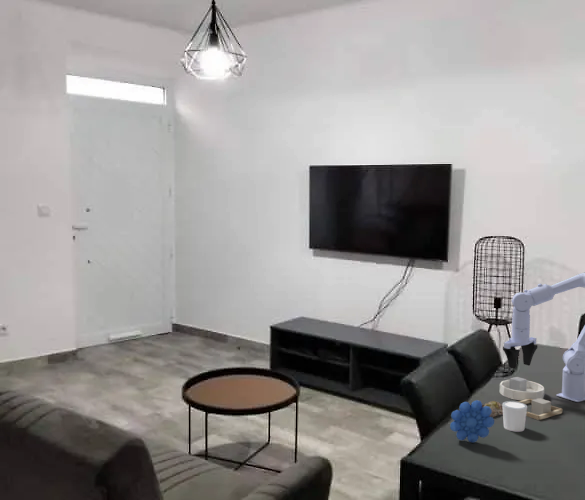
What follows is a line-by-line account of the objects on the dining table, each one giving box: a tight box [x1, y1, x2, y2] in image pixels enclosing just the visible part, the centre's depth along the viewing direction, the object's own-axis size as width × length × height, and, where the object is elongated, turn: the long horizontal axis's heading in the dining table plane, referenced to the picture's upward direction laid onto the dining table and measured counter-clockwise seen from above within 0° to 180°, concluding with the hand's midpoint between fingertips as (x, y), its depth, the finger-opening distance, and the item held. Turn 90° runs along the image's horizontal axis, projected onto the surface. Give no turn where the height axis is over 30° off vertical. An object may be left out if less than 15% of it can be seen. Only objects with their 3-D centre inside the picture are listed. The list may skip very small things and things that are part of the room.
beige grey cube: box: [530, 398, 552, 415], centre depth 185 cm, size 4×4×4 cm
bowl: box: [499, 379, 545, 401], centre depth 203 cm, size 14×14×3 cm
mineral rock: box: [482, 400, 503, 418], centre depth 186 cm, size 11×4×8 cm
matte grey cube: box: [509, 376, 528, 391], centre depth 206 cm, size 4×4×4 cm
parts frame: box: [517, 399, 563, 421], centre depth 187 cm, size 12×12×1 cm
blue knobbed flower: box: [449, 399, 495, 444], centre depth 163 cm, size 12×7×12 cm, turn 70°
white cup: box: [501, 400, 528, 433], centre depth 173 cm, size 7×7×7 cm
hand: (519, 366), depth 204 cm, fingers open, 7 cm apart
